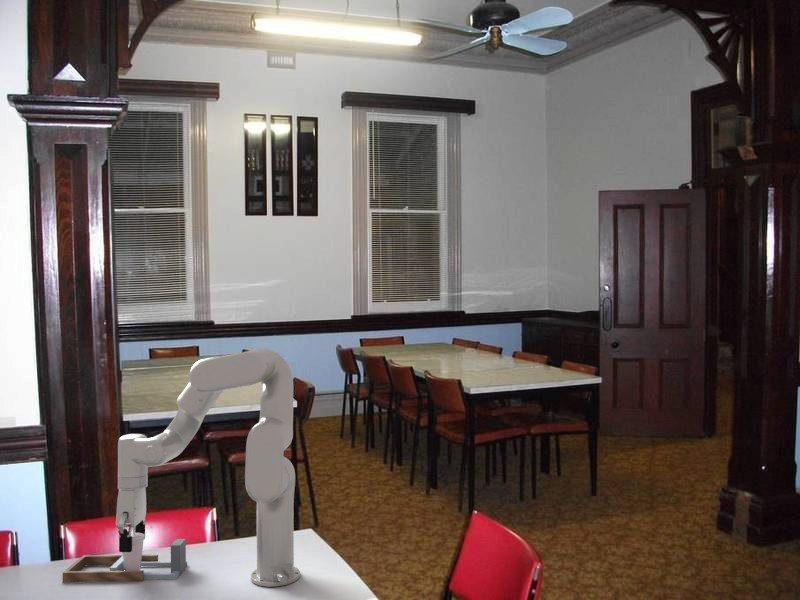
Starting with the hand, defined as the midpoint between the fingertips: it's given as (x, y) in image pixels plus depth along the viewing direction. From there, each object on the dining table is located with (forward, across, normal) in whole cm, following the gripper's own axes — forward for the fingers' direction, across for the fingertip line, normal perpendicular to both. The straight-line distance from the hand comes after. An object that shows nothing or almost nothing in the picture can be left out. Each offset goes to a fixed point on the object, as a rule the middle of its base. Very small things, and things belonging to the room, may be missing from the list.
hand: (132, 545), depth 193 cm
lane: (+7, 0, -5) cm, 9 cm away
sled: (+7, 0, +5) cm, 9 cm away
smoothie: (+7, 0, 0) cm, 8 cm away
